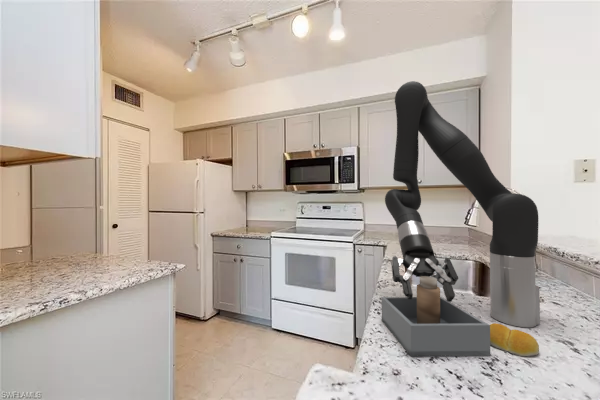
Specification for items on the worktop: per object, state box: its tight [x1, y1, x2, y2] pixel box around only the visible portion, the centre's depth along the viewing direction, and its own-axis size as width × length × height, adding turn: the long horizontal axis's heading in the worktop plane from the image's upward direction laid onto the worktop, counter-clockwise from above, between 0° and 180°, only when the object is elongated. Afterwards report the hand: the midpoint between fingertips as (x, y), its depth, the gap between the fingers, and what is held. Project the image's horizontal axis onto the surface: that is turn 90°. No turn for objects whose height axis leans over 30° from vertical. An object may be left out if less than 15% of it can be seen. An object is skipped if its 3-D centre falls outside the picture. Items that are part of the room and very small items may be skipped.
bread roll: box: [489, 322, 540, 357], centre depth 54 cm, size 8×9×4 cm
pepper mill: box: [416, 276, 441, 324], centre depth 58 cm, size 5×5×12 cm
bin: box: [381, 296, 491, 358], centre depth 58 cm, size 16×16×6 cm
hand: (430, 299), depth 57 cm, fingers open, 8 cm apart
